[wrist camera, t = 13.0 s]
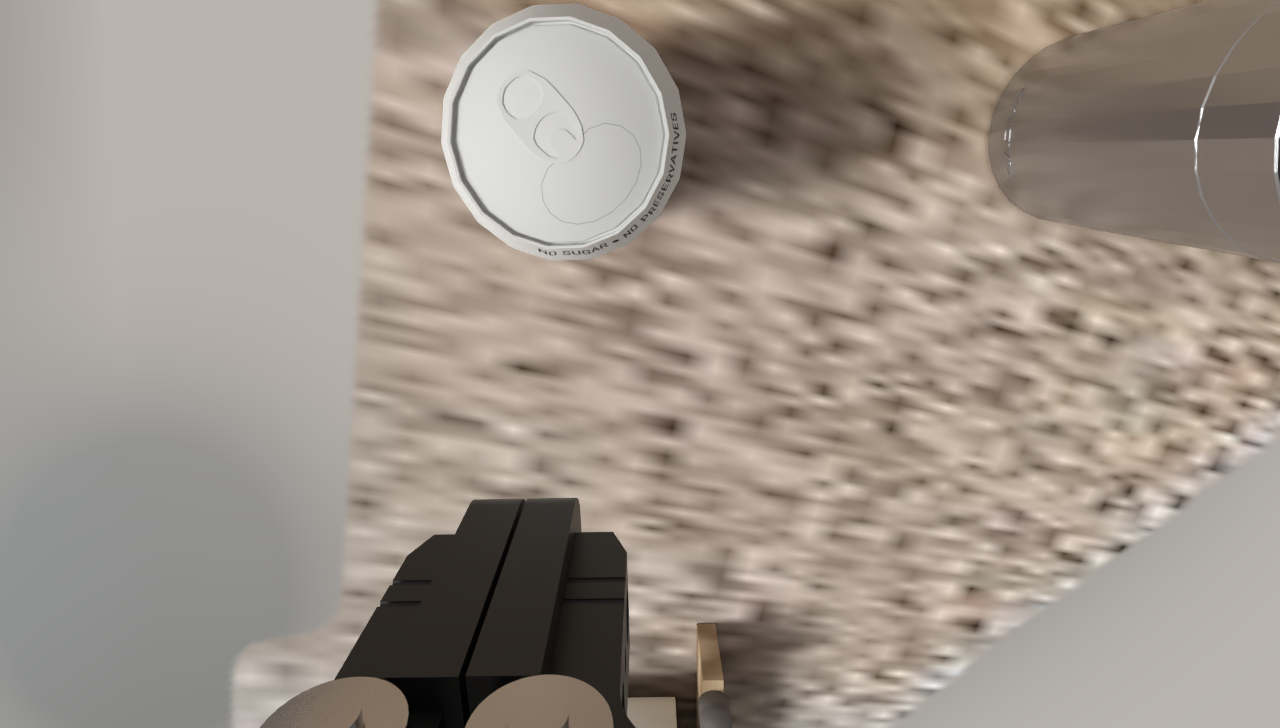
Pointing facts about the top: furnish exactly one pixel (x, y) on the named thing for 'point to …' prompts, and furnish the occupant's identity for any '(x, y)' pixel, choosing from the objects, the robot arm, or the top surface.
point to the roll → (652, 712)
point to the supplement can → (563, 132)
